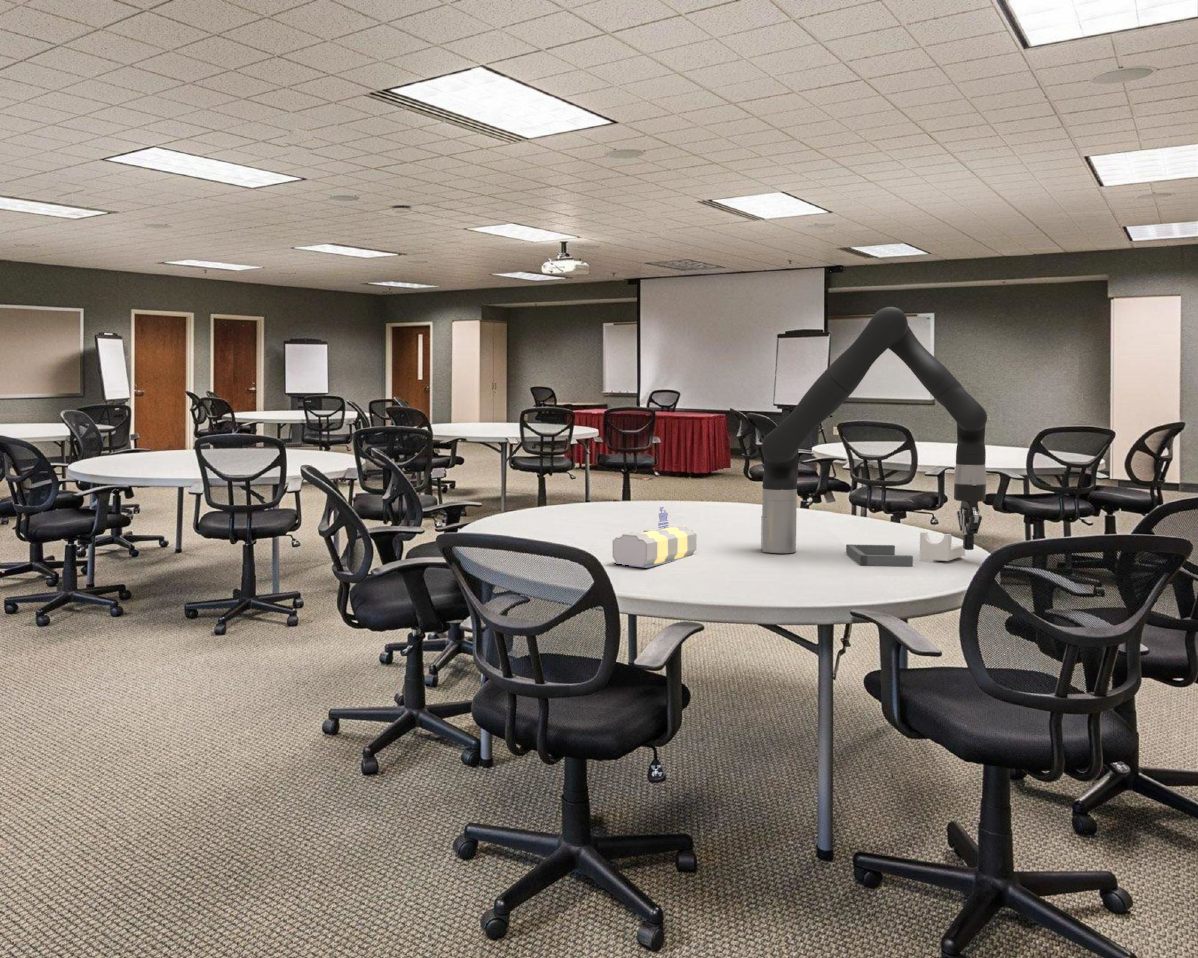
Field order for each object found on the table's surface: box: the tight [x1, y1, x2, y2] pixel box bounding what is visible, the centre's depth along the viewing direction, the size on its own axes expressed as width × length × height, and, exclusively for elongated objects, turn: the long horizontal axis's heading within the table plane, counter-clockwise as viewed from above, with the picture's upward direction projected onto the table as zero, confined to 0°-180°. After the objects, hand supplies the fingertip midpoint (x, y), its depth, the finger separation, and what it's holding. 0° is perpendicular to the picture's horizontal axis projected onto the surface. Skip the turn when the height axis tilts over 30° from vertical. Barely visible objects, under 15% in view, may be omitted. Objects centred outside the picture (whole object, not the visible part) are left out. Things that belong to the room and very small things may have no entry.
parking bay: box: [845, 544, 914, 567], centre depth 235 cm, size 12×21×2 cm, turn 174°
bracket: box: [919, 531, 966, 563], centre depth 236 cm, size 13×7×8 cm, turn 139°
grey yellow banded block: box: [612, 506, 698, 569], centre depth 236 cm, size 25×10×13 cm, turn 145°
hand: (968, 549), depth 233 cm, fingers closed
